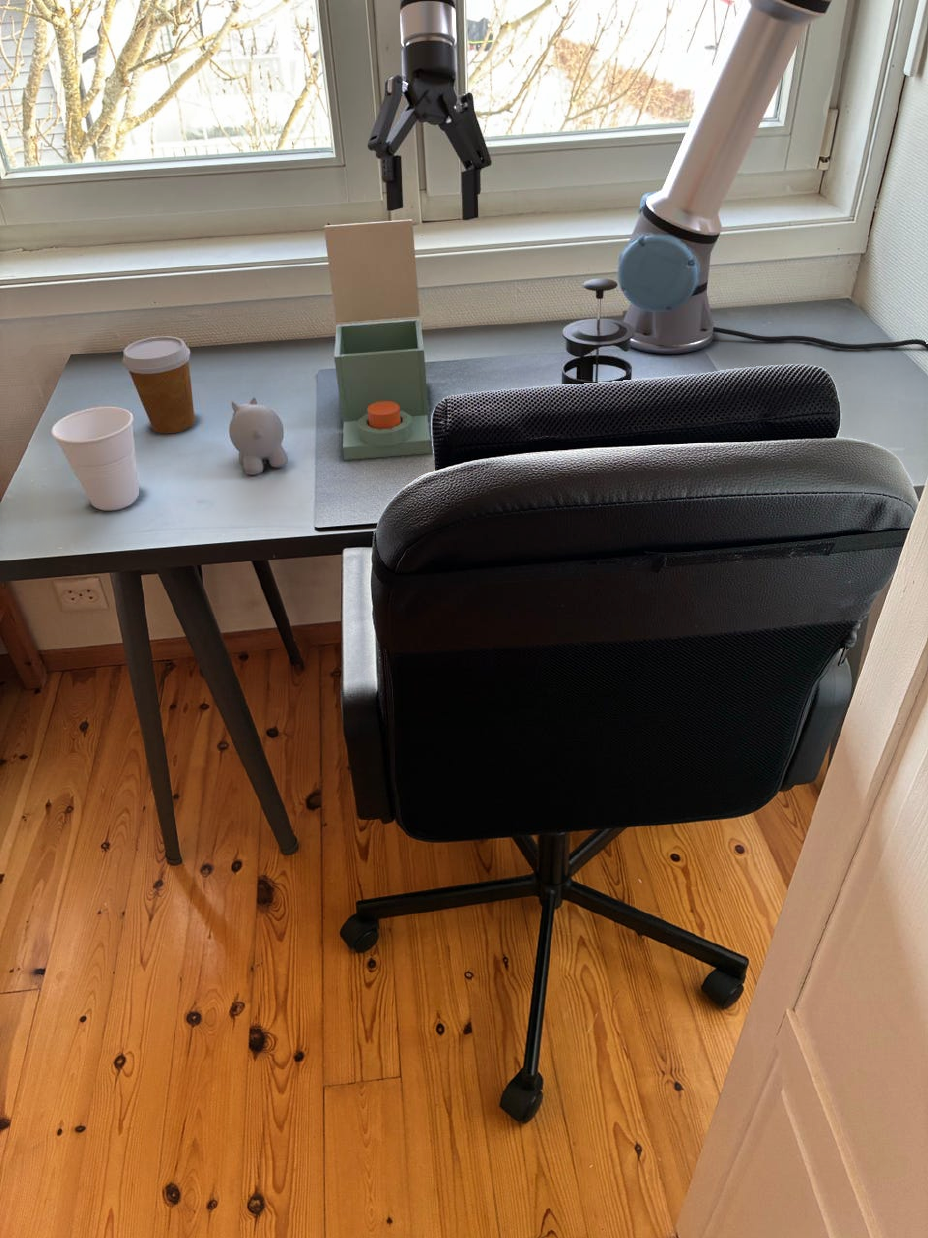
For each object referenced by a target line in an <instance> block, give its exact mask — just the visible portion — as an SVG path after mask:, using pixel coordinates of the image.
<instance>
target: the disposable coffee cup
mask: <svg viewBox="0 0 928 1238" xmlns="http://www.w3.org/2000/svg"><path fill="white" fill-rule="evenodd" d="M190 356H191V350H190V348H189V347H188V346H187V345H186V342H185V341H184V340H183V338H180V337H176V336H169V335H167V336H165V335H163V336H153V337H146V338H143V339H140V340H136V341H134V342H132V343H130V344H128V345H127V346H126V347H125V348H124V349H123V358H122V360H121V362H122V364H123V366H124V367H125V368H126V370H127V371H128V373H129V374H130V378H131V380H132V382H133V385H134V387H135V389H136V392H137V394H138V396H139V399H140V401H141V404H142V406H143V409H144V411H145V413H146V416H147V418H148V421H149V424H150V425H151V428H152V430H153V431H154V432H156V433H159V434H176V433H180V432H183V431H186V430H188V429H190V428H192V427H193V426H194V424H195V423H196V419H195V418H196V417H195V410H194V409H195V408H194V400H193V388H192V381H191V370H190V362H189V361H190Z"/></svg>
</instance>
